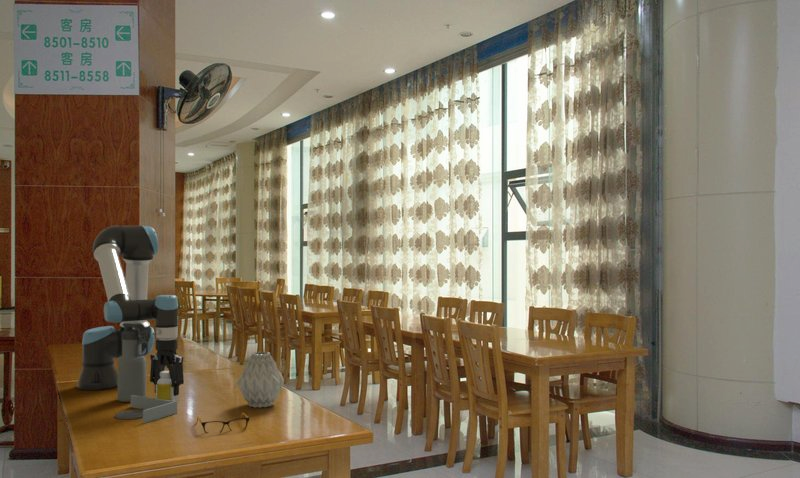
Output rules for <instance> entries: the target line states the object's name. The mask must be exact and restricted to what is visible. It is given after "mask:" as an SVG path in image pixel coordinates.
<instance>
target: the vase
mask: <svg viewBox="0 0 800 478" xmlns="http://www.w3.org/2000/svg"><path fill="white" fill-rule="evenodd" d="M278 368H279V367H278V365H277V362H276V361H275V359H274V358H273V356H272V355H271V352H269V351H256V352H252V353H251V356H250V357H249V358H248V361H247V362H246V363H245V366H244V369H243V372H242V373H241V374H240V375H239V378H238V380H237V386H238V388H239V390H240V392H241V395H242V397H243V399H244V401H245V402H247V406H249V407H251V408H254V409H255V408H260V409H261V408H267V407H269V408H270V407H272V406H273V405H274V404H275V401H276V399H277V398H278V397H279V395H280V393H281V390H282V387H283V385H284V384H285V380H284V377H283V374H282V373H281V371H280V370H279V369H278Z"/></svg>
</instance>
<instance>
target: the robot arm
mask: <svg viewBox="0 0 800 478" xmlns="http://www.w3.org/2000/svg"><path fill="white" fill-rule="evenodd" d="M92 253H93V258H94V259H95V260H96V261H97V263H98V266H99V270H100V275H101V278H102V281H103V285H104V290H105V294H106V298H107V301H106V302H105V303H104V305H103V314H104V315H103V316H104V317H103V318H104V320H105V321H106V322H107V323H119V328H118V329H117V328H115V326H113V325H106V326H105V325H104V326H98V327H94V328H90V329H87V330H85V331H84V332H83V334H82V340H81V341H82V342H81V345H82V368H81V371H80V374H79V378H78V381H77V389H78V390H83V391H97V390H98V391H99V390H107V389H111V388H115V387H118V371H117V370H116V367H115V359H119V358H121V357H122V332H123V331H124V326H123V323H127V322H132V323H141V324H143V325H144V327H145V328H146V331H147V336H145V341H147V342H148V354H147V355H146V356H148V355H149V354H150V353H151V352H152V350H153V348H154V344H155V350H156V351H157V352H156V353H154V354H153V353H152V354H150V356H149V357H150V358H149V359H150V372H149V374H150V375H149V382H150V383H153V385H154V393H155V398H157V381H158V380H159V379H160V378H161V376H160V372H161V371H165V370H166V368H167V369H168V370H167V371H169V374H170V378H171V382H172V386H171V401H173V402H174V401H177V405H178V404H179V395H180V386H181V385H184V382H185V381H184V379H185V378H184V364H183V362H184V356H183V355H182V356H179V355H178V353H177V350H178V349H179V346H178V345H179V344H178V343H179V340H178V337H179V334H178V333H179V332H178V331H179V330H178V329H179V326H178V325H179V324H178V323H179V322H178V321H179V318H178V317H179V310H178V309H179V303H178V302H179V301H178V296H177V295H174V294H160V295H156V297H154V298H150V299H149V298H148V291H149V289H148V287H149V264H150V263H151V262H152V261H153V260H154V256H155V255H157V254H158V253H159V239H158V235H157V231H156V230H155V229H154V228H153V227H152V226H147V225H110V226H107V227H106V228H104V229H102V230H101V231H100V232H99V233H98V235H96V237H95V238H94V242H93V244H92ZM121 255H122V257H121V259H122V260H123V261H124V262H125V272H124V269H123V266H122V263H121V259H120V256H121ZM153 320H155V330H154V327H152V326H151V323H150V322H149V321H153ZM133 329H135V328H133ZM142 338H143V337H142ZM155 338H156V340H155ZM145 352H146V344H145V343H142V344H141V354H145ZM175 382H176V383H175Z"/></svg>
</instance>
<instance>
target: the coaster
mask: <svg viewBox="0 0 800 478" xmlns="http://www.w3.org/2000/svg"><path fill="white" fill-rule="evenodd" d="M143 410H144V409H130V410H124V411H120V412H117V413H116V414H115V415H114V418H115V419H118V420H137V419H143Z"/></svg>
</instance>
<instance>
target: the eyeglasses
mask: <svg viewBox="0 0 800 478" xmlns="http://www.w3.org/2000/svg"><path fill="white" fill-rule="evenodd" d="M243 415H244V417H243ZM237 420H245V427H244V428H243V430H246V429H247V426H248V424H249V420H250V417H249V416H248V415H246V413H245V412H242V413H241V415H240V418H235V419H231V420H228V421H220V420H219V421H218V420H213V421H205V422H204V421H202V420H201V418H200V417H199V416H197V418H196V424H198V421H199V422H200V425H201V426H202V429H203V431H204V433H205V434H208V432H207V430H206V428H205V427H206V425H207V424H208V423H209V424H210V423H222V425H223V426H222V428H221V430H219V433H222V432H223V430H224V427H225V426H226V425H227V426H228V428H229V431H230V432H232V431H233V430H232V428H231V427H230V423H232V422H233V421H237Z"/></svg>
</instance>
